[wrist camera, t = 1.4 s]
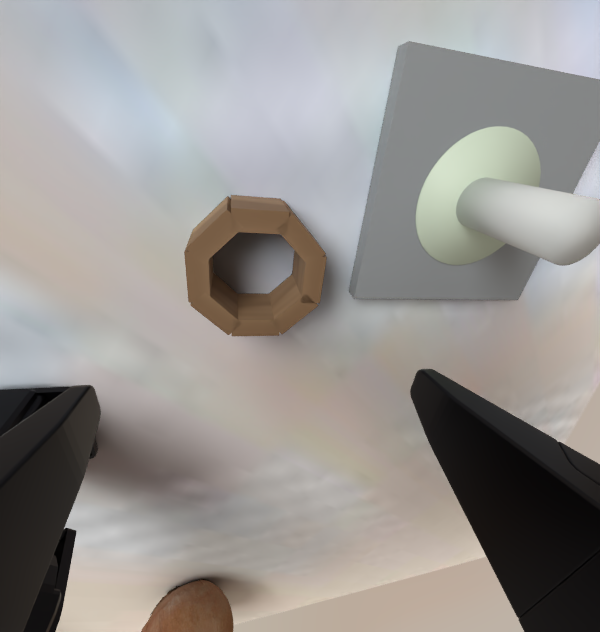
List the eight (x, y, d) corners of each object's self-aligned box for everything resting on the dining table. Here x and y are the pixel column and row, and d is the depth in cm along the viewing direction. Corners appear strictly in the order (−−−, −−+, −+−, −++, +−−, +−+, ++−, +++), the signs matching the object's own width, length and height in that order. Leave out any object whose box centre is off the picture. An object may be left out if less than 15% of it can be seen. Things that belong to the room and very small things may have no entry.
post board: (507, 293, 22) (606, 353, 16) (348, 291, 20) (398, 360, 14) (607, 87, 16) (820, 64, 10) (398, 46, 14) (523, -15, 8)
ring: (304, 308, 20) (314, 334, 17) (197, 308, 18) (191, 336, 16) (317, 201, 16) (333, 214, 14) (189, 191, 15) (180, 204, 13)
